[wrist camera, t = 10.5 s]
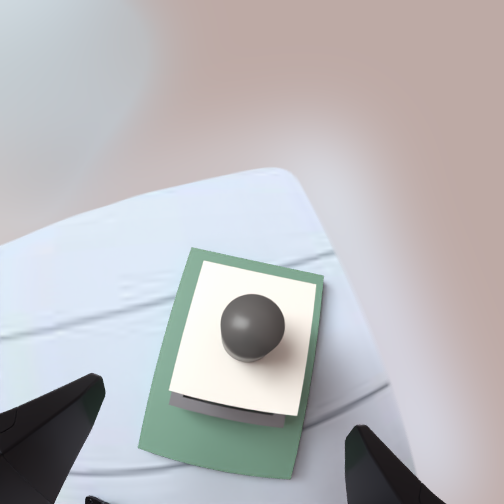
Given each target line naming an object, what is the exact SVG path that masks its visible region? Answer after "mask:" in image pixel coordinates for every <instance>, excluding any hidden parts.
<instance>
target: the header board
mask: <svg viewBox="0 0 504 504" xmlns="http://www.w3.org/2000/svg"><path fill="white" fill-rule="evenodd" d="M203 261H208V262H213V263H217V264H222V265H226V266H231V267H236V268H240V269H245V270H249V271H254V272H259V273H263V274H268V275H273V276H278V277H282V278H287V279H292V280H297V281H302V282H307V283H312V284H316V291H315V301H314V310H313V318H312V326H311V334H310V341H309V348H308V355H307V362H306V368H305V374H304V380H303V386H302V392H301V398H300V403H299V408H298V414H297V416H294V415H285V414H277V413H270V412H263V411H257V410H251V409H245V408H240V407H235V406H230V405H225V404H220V403H216V402H211V401H207V400H203V399H199V398H195V397H191V396H187V395H184V394H180V393H177V392H173V391H170V390H169V387H170V383H171V379H172V375H173V371H174V367H175V363H176V359H177V355H178V351H179V347H180V343H181V339H182V336H183V332H184V328H185V324H186V321H187V317H188V313H189V310H190V306H191V303H192V299H193V296H194V292H195V289H196V285H197V282H198V278H199V275H200V271H201V268H202V265H203ZM323 279H324V276H323V275H318V274H313V273H309V272H304V271H299V270H294V269H290V268H285V267H280V266H276V265H271V264H266V263H262V262H257V261H252V260H248V259H243V258H238V257H234V256H229V255H225V254H220V253H215V252H211V251H206V250H202V249H197V248H193V247H192V248H191V251H190V254H189V257H188V260H187V263H186V266H185V269H184V272H183V275H182V278H181V281H180V284H179V288H178V291H177V294H176V297H175V301H174V304H173V307H172V311H171V314H170V318H169V321H168V325H167V328H166V332H165V335H164V339H163V343H162V346H161V350H160V354H159V357H158V361H157V365H156V369H155V373H154V377H153V381H152V385H151V389H150V394H149V398H148V402H147V407H146V411H145V416H144V420H143V425H142V430H141V435H140V440H139V445H138V448H139V449H142V450H145V451H148V452H151V453H154V454H157V455H160V456H163V457H166V458H170V459H173V460H176V461H180V462H184V463H188V464H191V465H196V466H200V467H204V468H209V469H213V470H218V471H224V472H229V473H235V474H242V475H249V476H257V477H266V478H277V479H291V475H292V472H293V467H294V463H295V459H296V455H297V450H298V446H299V441H300V437H301V432H302V427H303V422H304V417H305V412H306V406H307V401H308V395H309V390H310V384H311V377H312V371H313V364H314V358H315V351H316V343H317V335H318V327H319V319H320V310H321V300H322V290H323Z"/></svg>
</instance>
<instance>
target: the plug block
mask: <svg viewBox="0 0 504 504" xmlns="http://www.w3.org/2000/svg"><path fill="white" fill-rule="evenodd" d="M315 291H316V284H312V283H307V282H302V281H297V280H292V279H287V278H282V277H278V276H273V275H268V274H263V273H259V272H254V271H249V270H245V269H240V268H236V267H231V266H226V265H222V264H217V263H213V262H208V261H203V265H202V268H201V271H200V275H199V278H198V282H197V285H196V289H195V292H194V296H193V299H192V303H191V306H190V310H189V313H188V317H187V321H186V324H185V328H184V332H183V336H182V339H181V343H180V347H179V351H178V355H177V359H176V363H175V367H174V371H173V375H172V379H171V383H170V387H169V390H170V391H173V392H177V393H180V394H184V395H187V396H191V397H195V398H199V399H203V400H207V401H211V402H216V403H220V404H225V405H230V406H235V407H240V408H245V409H251V410H257V411H263V412H270V413H277V414H285V415H294V416H297V414H298V408H299V403H300V398H301V392H302V386H303V380H304V374H305V368H306V362H307V355H308V348H309V341H310V334H311V326H312V318H313V310H314V301H315Z"/></svg>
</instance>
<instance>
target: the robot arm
mask: <svg viewBox="0 0 504 504" xmlns="http://www.w3.org/2000/svg"><path fill="white" fill-rule="evenodd" d="M104 397H105V387H104V383H103V378H102V377H101V376H99V375H97V374H94V373H90V374H88V375H86V376H84V377H81V378H79V379H77V380H75V381H73V382H71V383H69V384H67V385H64V386H62V387H60V388H58V389H56V390H54V391H51V392H49V393H47V394H45V395H43V396H40V397H38V398H36V399H34V400H31V401H29V402H27V403H25V404H22V405H20V406H18V407H15V408H13V409H11V410H8V411H5V412H3V413H0V504H54V503H55V500H56V498H57V496H58V494H59V492H60V490H61V488H62V486H63V484H64V482H65V480H66V478H67V476H68V474H69V472H70V470H71V468H72V466H73V464H74V462H75V460H76V458H77V456H78V454H79V452H80V450H81V448H82V446H83V444H84V443H85V441H86V439H87V437H88V435H89V433H90V431H91V429H92V427H93V425H94V422H95V420H96V417H97V415H98V412H99V410H100V407H101V405H102V402H103V400H104ZM345 482H346V491H347V501H348V504H446V503H444V502H443V501H442V500H441V499H439V498H438V497H437V496H436V495H435V494H433V493H432V492H431V491H430V490H429V489H428V488H427V487H426V486H425V485H424V484H423V483H421V481H420V480H419V479H418V478H417V477H416V476H415V475H414V474H413V473H412V472H411V471H410V470H409V469H408V468H407V467H406V466H405V465H404V464H403V463H402V462H401V461H400V460H399V459H398V458H397V457H396V456H395V455H394V454H393V453H392V451H391V450H390V449H389V448H388V447H387V446H386V445H385V444H384V443H383V442H382V441H381V440H380V439H379V438H378V437H377V436H376V435H375V434H374V432H373V431H372V430H371V429H370V428H369V427H368V426H366V425H356V426H354V428H353V429H352V430H351V432H350V433H349V435H348V436H347V437H346V440H345ZM90 499H91V500H92V501H93V502H92V501H90ZM85 504H109V503H107V502H103V501H101V500H99V499H97V498H95V497H93V496H87V497H86V498H85Z"/></svg>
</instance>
